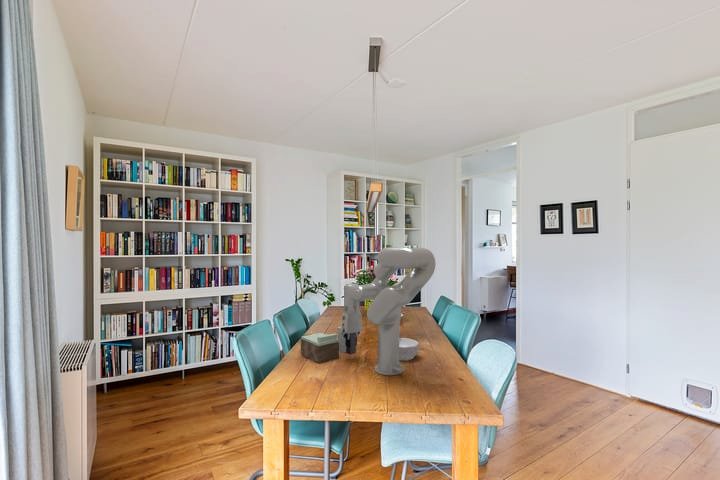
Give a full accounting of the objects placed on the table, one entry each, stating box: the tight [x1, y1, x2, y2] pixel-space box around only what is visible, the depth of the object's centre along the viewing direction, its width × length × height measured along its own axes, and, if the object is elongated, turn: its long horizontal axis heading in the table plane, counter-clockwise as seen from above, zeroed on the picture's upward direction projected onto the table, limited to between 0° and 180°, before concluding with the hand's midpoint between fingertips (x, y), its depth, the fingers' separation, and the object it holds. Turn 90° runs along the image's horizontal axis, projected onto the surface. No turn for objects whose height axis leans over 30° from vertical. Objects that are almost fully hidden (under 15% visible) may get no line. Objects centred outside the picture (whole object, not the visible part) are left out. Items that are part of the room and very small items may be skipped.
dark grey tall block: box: [346, 333, 357, 355], centre depth 172 cm, size 3×3×10 cm
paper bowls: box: [399, 337, 420, 362], centre depth 175 cm, size 15×15×8 cm
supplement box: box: [337, 326, 347, 354], centre depth 186 cm, size 7×7×13 cm
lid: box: [300, 332, 339, 346], centre depth 175 cm, size 16×12×4 cm
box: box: [300, 333, 340, 365], centre depth 178 cm, size 22×12×8 cm, turn 39°
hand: (351, 345), depth 172 cm, fingers closed on dark grey tall block, 3 cm apart
